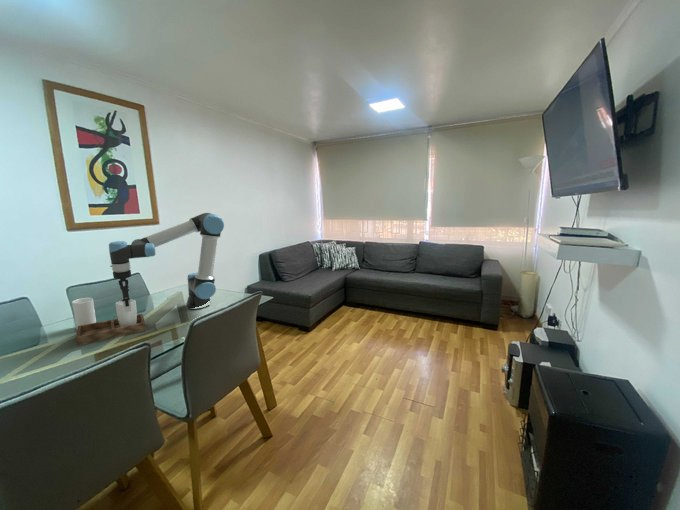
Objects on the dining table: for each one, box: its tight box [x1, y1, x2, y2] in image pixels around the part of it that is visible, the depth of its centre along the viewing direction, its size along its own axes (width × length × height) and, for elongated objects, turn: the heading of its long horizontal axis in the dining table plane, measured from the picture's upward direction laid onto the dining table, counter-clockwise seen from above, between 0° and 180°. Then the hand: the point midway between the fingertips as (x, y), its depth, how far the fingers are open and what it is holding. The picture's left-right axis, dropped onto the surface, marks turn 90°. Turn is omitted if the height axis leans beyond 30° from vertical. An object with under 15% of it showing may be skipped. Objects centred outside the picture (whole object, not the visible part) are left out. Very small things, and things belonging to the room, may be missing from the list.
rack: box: [75, 313, 147, 347], centre depth 145 cm, size 28×14×4 cm, turn 131°
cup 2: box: [114, 299, 138, 327], centre depth 149 cm, size 7×7×15 cm
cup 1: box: [71, 297, 97, 330], centre depth 147 cm, size 8×8×16 cm
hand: (127, 307), depth 147 cm, fingers open, 13 cm apart
